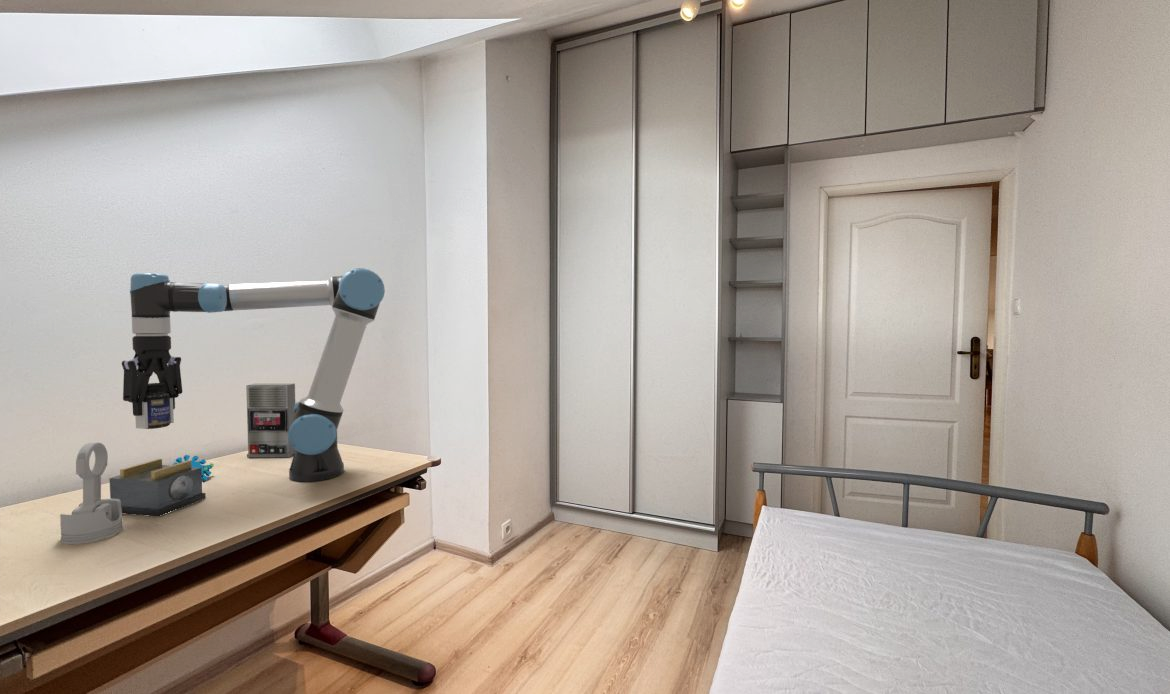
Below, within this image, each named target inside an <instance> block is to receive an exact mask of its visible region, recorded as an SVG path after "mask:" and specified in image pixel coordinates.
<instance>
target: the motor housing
mask: <svg viewBox="0 0 1170 694" xmlns="http://www.w3.org/2000/svg"><path fill="white" fill-rule="evenodd" d="M177 463H178V462H177ZM119 471H120V473H119V474H120V475H116V476H112V477H109V478H108V479H109V496H110V498H109V499H119V500H120V501H121V509H122V513H126V514H125V515H132V514H136V515H135V516H144V515H149V516H148V517H155V516H160V515H162V516H164V515H163V514H165V513H167V514H169V513H168V512H170V511H173V510H175V509H178V510H179V508H180V509H182V507H183V508H185V507H187V505H188V506H189V505H190V506H191V505H192V503H193V504H195V503H197V501H198V502H200V501H203V500H206V499H205V498H207V496H206V492H203V481H202V472H201V468H199V467H191V460H189V461H185V460H184V461H182V463H178V464H175V465H173V464H171V465H167V464H166V465H164V464H163V459H162V458H156V459H154V460H150V461H147V462H143V463H139V464H135V465H131V466H129V467H125V468H121V469H119ZM202 499H203V500H202ZM184 506H185V507H184ZM175 511H176V510H175ZM173 512H174V511H173ZM170 513H171V512H170ZM165 515H166V514H165ZM160 517H161V516H160Z"/></svg>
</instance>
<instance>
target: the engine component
mask: <svg viewBox="0 0 1170 694" xmlns="http://www.w3.org/2000/svg"><path fill="white" fill-rule="evenodd" d="M93 453H94V457H95V458H94V459H95V461H94V466H93V467H92V469H91V467H90V458H91V455H92V454H93ZM75 459H76V460H75V474H76V475H77V476H79V478H80V479H82V502H81V503H79V504H78V506H76V508H74V509H72V511H71V514H66V513H61V514H60V515H59V516H60V517H59V518H60V522H59V523H60V525H59V526H60V538H61V539H60V541H61V543H62V544H64V545H81V543H83V544H87V543H88V542H90V543H94V542H98V541H97V540H99V541H102V540H105V539H104V538H106V539H108V538H107V537H109V538H111V537H114V536H116V535H117V533H118V534H120V533H121V532H122V531H123V530H124V529H123V514H122V509H121V501H120V500H119V499H110V498H102V475H103V474H104V472H105V470H106V469H107V467H108V459H109V458H108V451H107V448H106V446H105V444H104V443H102V442H88V443H85V444H84V445H82V446H81V448H80V449H79V450H78V453H77V455H76V458H75ZM122 529H123V530H122ZM121 530H122V531H121ZM120 531H121V532H120ZM119 532H120V533H119ZM115 534H116V535H115ZM113 535H114V536H113ZM110 536H111V537H110ZM101 539H102V540H101ZM93 541H94V542H93ZM88 544H89V543H88Z"/></svg>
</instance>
